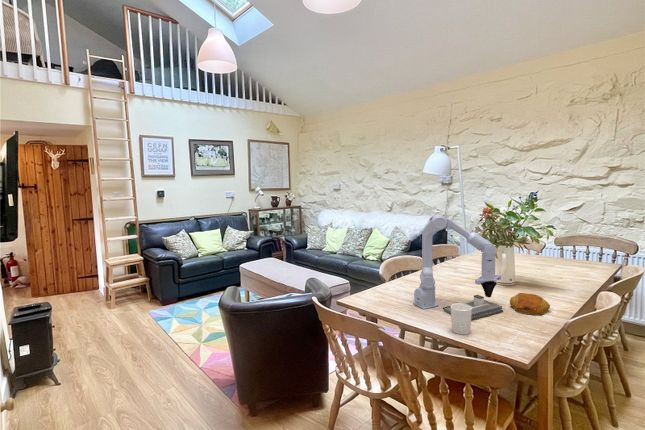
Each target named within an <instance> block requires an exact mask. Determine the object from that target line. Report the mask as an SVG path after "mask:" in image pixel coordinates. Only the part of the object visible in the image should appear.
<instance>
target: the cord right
mask: <svg viewBox="0 0 645 430" xmlns="http://www.w3.org/2000/svg"><path fill="white" fill-rule="evenodd" d="M503 312H504V309H502V310H498V311H494V312H491V313H487V314H483V315H480V316H476V317H472V318H471V322H472V321H475V320H479V319H481V318H485V317H489V316H492V315H495V314H496V315H497V314H500V313H503Z"/></svg>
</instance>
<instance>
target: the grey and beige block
mask: <svg viewBox="0 0 645 430" xmlns="http://www.w3.org/2000/svg"><path fill="white" fill-rule="evenodd" d="M473 300H474V305H475V306H479V305H483V304H484V300H485V296H482V295H481V294H475V295H473Z"/></svg>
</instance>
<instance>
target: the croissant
mask: <svg viewBox="0 0 645 430" xmlns="http://www.w3.org/2000/svg"><path fill="white" fill-rule="evenodd" d="M509 305H510V307H511V308H512V309H514V310H515V312H518V313H521V314H525V315H531V316H534V315H536V316H538V315H539V316H541V315H544V314H546V313H547V312H548V311H549V309H551V305H550V303H549V302H548V301H547V300H546V299H544V298H543V297H542V296H539V295H537V294H534V293H525V292H518V293H517V294H516V295H514V296H511V297H510V299H509Z"/></svg>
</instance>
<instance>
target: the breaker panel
mask: <svg viewBox="0 0 645 430" xmlns="http://www.w3.org/2000/svg"><path fill="white" fill-rule="evenodd" d="M460 304H466V305H469V306H471V307H472V317H471V318H473V317H477V316H480V315H484V314H488V313H491V312H495V311H499V310H503V305H500V304H497V303H494V302H492V301H488V300H486V299H484V304H483V305H479V306H475V305H474V299H472V300H468V301H464V303H463V302H460ZM443 312H444V313H446V314H448V315H450V316H451V307H448V308H444V310H443Z"/></svg>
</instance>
